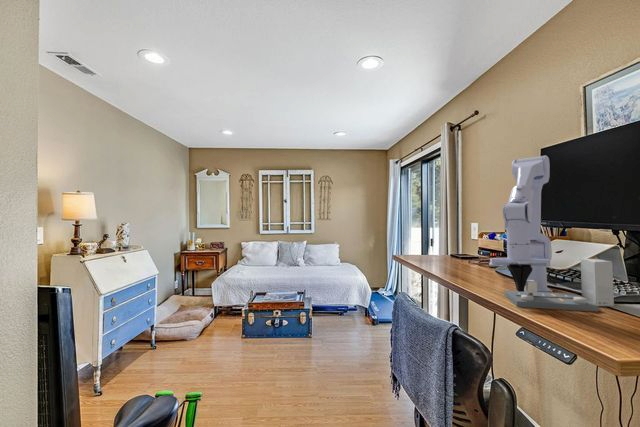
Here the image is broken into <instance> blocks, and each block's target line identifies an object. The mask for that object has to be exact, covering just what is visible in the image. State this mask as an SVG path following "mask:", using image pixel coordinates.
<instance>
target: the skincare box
mask: <svg viewBox="0 0 640 427" xmlns="http://www.w3.org/2000/svg"><path fill="white" fill-rule="evenodd" d="M613 270H614V269H613V262H612V261H611V260H605V259H599V258H580V278H581V282H580V284H581V297H583V298H587V299H588V301H590V302H592V303H594V304H596V305H598V306H599V307H615V300H614V298H615V297H614V296H615V295H614V277H613V276H614V274H613V273H614V272H613Z"/></svg>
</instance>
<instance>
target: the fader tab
mask: <svg viewBox="0 0 640 427" xmlns="http://www.w3.org/2000/svg"><path fill="white" fill-rule="evenodd" d="M524 290H525V291H526V292H528V295H532V296H533V293H537V292H538V291H537V282H535V281H533V280H527V281H526V284H525V288H524Z"/></svg>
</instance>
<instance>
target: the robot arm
mask: <svg viewBox="0 0 640 427" xmlns="http://www.w3.org/2000/svg"><path fill="white" fill-rule="evenodd" d="M550 166H551V165H550V158H549V157H548V156H547V155H540V156H533V157H527V158H518V159H517V158H514V160H513V161H512V162H511V172H512V175H513V178H514V181H515V182H516V185H515V186H514V187H512V189H511V191H510V195H509V198H508V202H507V203H506V204H504V205H503V208H502V218H503V221H504V228H505V229H506V254H507V257H494V258H493V257H491V258H489V264H490V266H492V267H493V266H506V267H507V270H508V271H509V273H510V274H511V276H512V280H513V282H514V286H515V289H516V290H515V291H519V292H524V291H525V290H524V288H525V284H526V281H527V280H533V281H535V282H537V292H553V289H551V288H549V287H548V281H547V280H548V276H547V268H549V267H550V268H551V261H552V256H553V255H552V254H553V249H552V242H551V239H550V237H548V236H547V235H545V234H543V233H542V232H541V229H542V228H541V225H542V224H541V221H542V218H541V217H542V216H541V214H542V210H541V209H542V189H543V186H544V185H545V184H547V183H549V182H550V181H549V180H550V175H551V173H550V171H551V170H550Z"/></svg>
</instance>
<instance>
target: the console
mask: <svg viewBox="0 0 640 427" xmlns="http://www.w3.org/2000/svg"><path fill="white" fill-rule="evenodd" d="M503 292H504V293H503V294H504V296H505V297H506V298H507V299H508V300H509V301H510V303H512V304H513V305H514V306H516V307H517V308H528V309H529V308H531V309H545V310H546V309H550V310H562V311H563V310H566V311H567V310H568V311H583V312H584V311H585V312H600V311H599V310H600V308H599V307H600V306H598V305H596V304H594V303H592V302H590V301H588V299H587V298H583V297H582V295H578V294H577V293H574V292H542V291H537V293H533V296H532V295H528V292H526V291H524V292H519V291H517V290H506V289H505V290H504V291H503Z"/></svg>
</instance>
